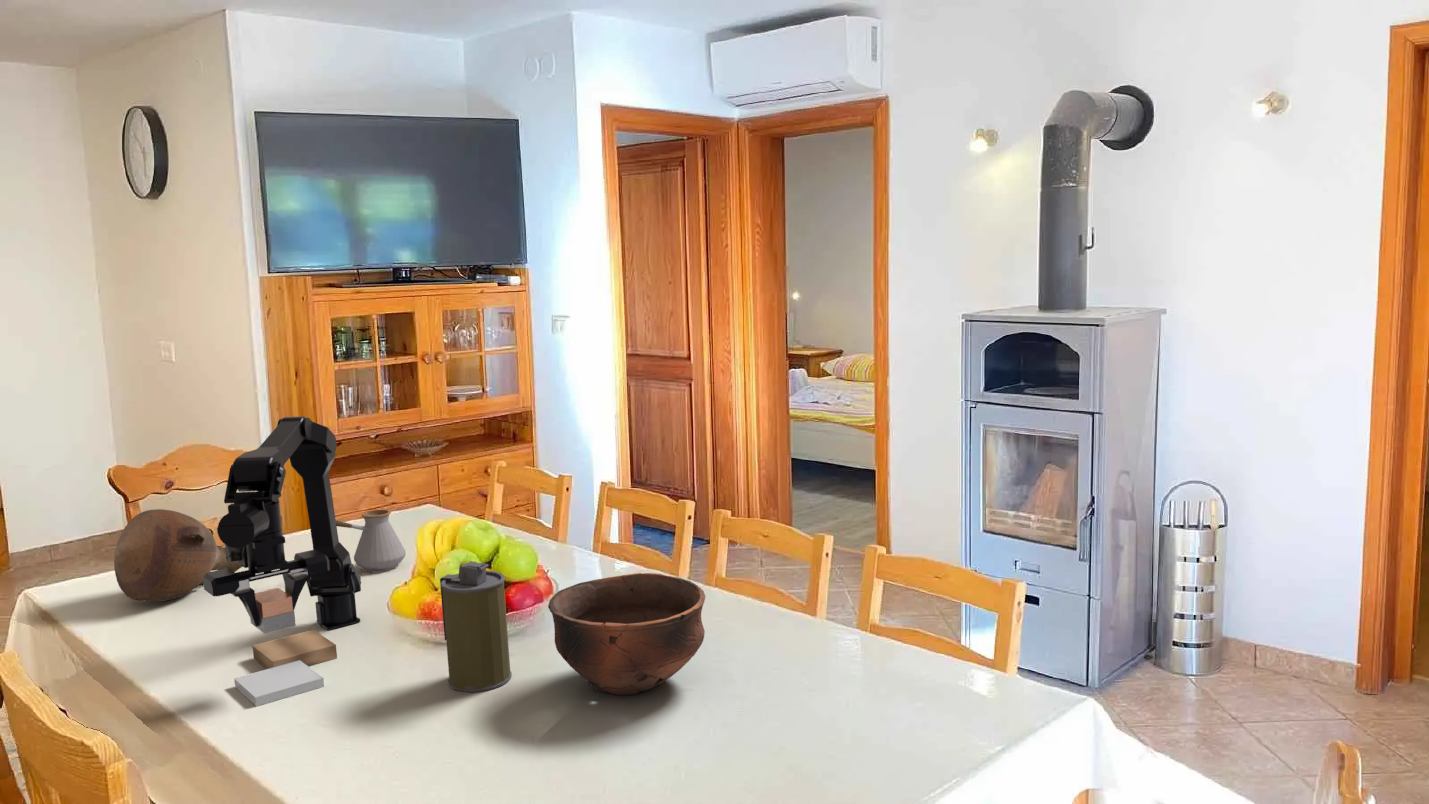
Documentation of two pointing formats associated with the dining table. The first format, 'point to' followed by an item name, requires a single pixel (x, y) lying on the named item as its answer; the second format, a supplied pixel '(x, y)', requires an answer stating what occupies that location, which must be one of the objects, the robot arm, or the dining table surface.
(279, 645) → the walnut plinth
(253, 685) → the ceramic tile
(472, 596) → the canister
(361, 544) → the coffee pot
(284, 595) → the housing
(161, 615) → the dining table surface
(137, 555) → the jug
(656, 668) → the bowl
